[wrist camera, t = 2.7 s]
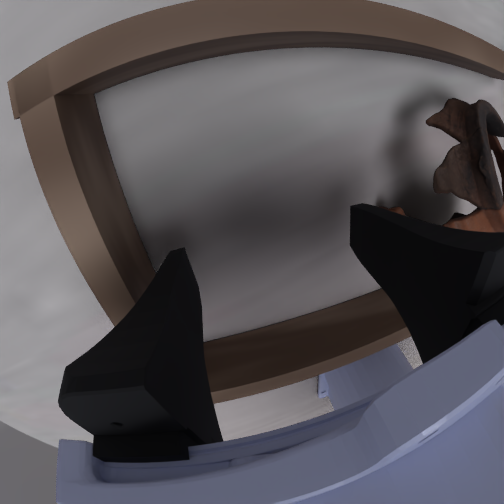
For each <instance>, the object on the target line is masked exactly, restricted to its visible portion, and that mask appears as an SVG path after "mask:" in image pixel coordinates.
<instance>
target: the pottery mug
mask: <svg viewBox="0 0 504 504" xmlns="http://www.w3.org/2000/svg"><path fill="white" fill-rule="evenodd" d="M426 124H427V125H428V126H432V127H436V128H438V129H441V130H443V131H444V132H445V133H447V134H448V135H450V136H451V137H453V138H455V139H456V140H457V141H459V142H460V144H458V145H456V146H453V147H452V148H451V149H450V150H449V151H448V153H447V155H446V157H445V159H444V161H443V162H442V164H441V165H440V166H439V167H438V168H437V169H436V170H435V173H434V178H433V188H434V192H435V193H436V194H440V193H453V194H454V195H455V196H457V197H459V198H461V199H464V200H467V201H469V202H470V203H472V204H473V205H475V206H477V209H475V210H474V211H473V212H472V213H470V214H468V215H464V214H460V213H454V214H453V216H452V217H451V219H450V220H449V221H448V222H447V223H446V224H444V225H442V226H444V227H450V228H455V229H462V230H469V231H479V232H504V150H503V149H502V147H501V145H500V142H499V140H498V138H497V137H496V136H498V137H504V123H503V121H502V120H501V118H500V116H499V115H498V113H497V112H496V110H495V109H494V108H493V107H492V105H491V104H490V103H488V102H487V101H485V100H478V101H477V102H476V103H474V104H471V105H470V104H468V103H466V102H464V101H461V100H459V99H456V98H452V99H448V100H447V102H446V103H445V106H444V108H443V109H442V110H441V111H440V112H438V113H436V114H434V115H432V116H431V117H430V118H429V119H427V120H426ZM491 150H493V152H494V155H495V157H496V161H497V164H498V167H499V170H500V173H501V177H502V191H503V196H502V192H501V189H500V185H499V182H498V178H497V175H496V170H495V166H494V161H493V157H492V154H491ZM380 208H383V209H386V210H389V211H392V212H395V213H398V214H401V215H405V213H404V211H403V209H402V208H401V207H393V208H390V209H388V208H386V207H381V206H380ZM405 216H406V215H405Z"/></svg>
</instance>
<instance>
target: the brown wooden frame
mask: <svg viewBox="0 0 504 504" xmlns="http://www.w3.org/2000/svg"><path fill="white" fill-rule="evenodd" d="M302 47H336V48H356V49H368V50H378V51H386V52H394V53H400V54H406V55H412V56H417V57H422V58H427V59H432V60H436V61H440V62H444V63H448V64H452V65H455V66H459V67H462V68H466V69H469V70H472V71H475V72H478V73H481V74H484V75H487V76H489V77H492V78H496V79H501V80H504V51H502V50H500V49H499V48H497V47H495V46H493V45H492V44H490V43H488V42H486V41H484V40H482V39H480V38H478V37H476V36H474V35H472V34H470V33H468V32H466V31H463V30H461V29H459V28H456V27H454V26H452V25H449V24H447V23H444V22H442V21H439V20H436V19H434V18H431V17H428V16H425V15H422V14H419V13H416V12H412V11H409V10H406V9H402V8H398V7H394V6H391V5H386V4H382V3H377V2H373V1H368V0H195V1H190V2H185V3H180V4H176V5H172V6H168V7H164V8H160V9H156V10H153V11H149V12H146V13H143V14H139V15H136V16H133V17H130V18H127V19H125V20H122V21H119V22H116V23H114V24H111V25H109V26H106V27H104V28H101V29H99V30H97V31H94V32H92V33H90V34H88V35H85V36H83V37H81V38H79V39H77V40H75V41H73V42H71V43H69V44H67V45H65V46H63V47H61V48H60V49H58V50H56V51H54V52H52V53H51V54H49V55H47V56H46V57H44V58H42V59H41V60H39V61H37V62H36V63H34V64H33V65H31V66H29V67H28V68H26V69H25V70H23V71H22V72H21V73H19V74H18V75H16V76H15V77H13V78H12V79H11V80H9V81H8V82H7V83H8V89H9V95H10V100H11V105H12V110H13V115H14V119H19V118H20V120H21V124H22V128H23V132H24V135H25V139H26V143H27V146H28V149H29V153H30V156H31V159H32V162H33V165H34V168H35V171H36V174H37V177H38V179H39V182H40V185H41V188H42V190H43V193H44V195H45V198H46V200H47V203H48V205H49V207H50V210H51V212H52V214H53V217H54V219H55V221H56V223H57V226H58V228H59V230H60V232H61V234H62V236H63V238H64V240H65V242H66V244H67V246H68V248H69V250H70V252H71V254H72V256H73V258H74V260H75V262H76V264H77V266H78V267H79V269H80V271H81V273H82V275H83V276H84V278H85V280H86V282H87V283H88V285H89V287H90V288H91V290H92V292H93V293H94V295H95V297H96V298H97V300H98V302H99V303H100V305H101V306H102V308H103V309H104V311H105V313H106V314H107V316H108V317H109V319H110V320H111V322H112V323H113V325H114V326H116V325H117V324H118V323H119V322H120V321H121V320H122V319H123V318H124V317H125V316H126V315H127V313H128V312H129V311H130V310H131V309H132V307H133V306H134V305H135V304H136V303H137V301H138V300H139V299H140V297H141V296H142V294H143V293H144V291H145V290H146V289H147V287H148V286H149V284H150V283H151V281H152V280H153V278H154V277H155V275H156V273H155V271H154V269H153V267H152V264H151V262H150V260H149V258H148V255H147V253H146V251H145V248H144V246H143V243H142V241H141V239H140V236H139V234H138V231H137V229H136V226H135V224H134V221H133V218H132V216H131V213H130V211H129V208H128V205H127V202H126V200H125V197H124V194H123V191H122V189H121V186H120V183H119V180H118V177H117V174H116V171H115V168H114V165H113V162H112V158H111V155H110V152H109V149H108V145H107V142H106V139H105V135H104V132H103V128H102V124H101V121H100V117H99V113H98V109H97V105H96V101H95V97H94V94H95V93H97V92H100V91H102V90H105V89H107V88H109V87H112V86H115V85H117V84H120V83H122V82H125V81H128V80H131V79H134V78H137V77H139V76H142V75H146V74H149V73H152V72H155V71H159V70H162V69H165V68H169V67H173V66H177V65H181V64H185V63H189V62H193V61H197V60H202V59H207V58H212V57H217V56H223V55H229V54H235V53H242V52H250V51H259V50H269V49H281V48H302ZM410 336H411V334H410V332H409V330H408V328H407V326H406V324H405V323H404V321H403V319H402V317H401V315H400V314H399V312H398V310H397V309H396V307H395V305H394V304H393V302H392V301H391V299H390V298H389V296H388V295H387V294H386V293H385V291H384V290H383V289H380V290H377V291H374V292H372V293H369V294H366V295H363V296H361V297H358V298H355V299H352V300H349V301H347V302H344V303H341V304H338V305H335V306H332V307H329V308H326V309H323V310H320V311H317V312H314V313H310V314H307V315H304V316H301V317H298V318H294V319H291V320H288V321H284V322H281V323H277V324H274V325H270V326H267V327H263V328H260V329H256V330H252V331H249V332H245V333H241V334H237V335H233V336H229V337H225V338H221V339H217V340H213V341H209V342H204V343H203V345H204V358H205V365H206V370H207V376H208V381H209V386H210V391H211V395H212V400H213V404H215V403H219V402H224V401H229V400H233V399H238V398H242V397H246V396H250V395H254V394H258V393H262V392H266V391H269V390H273V389H277V388H280V387H283V386H287V385H290V384H293V383H297V382H300V381H303V380H306V379H309V378H312V377H315V376H318V375H321V374H323V373H326V372H329V371H332V370H334V369H337V368H340V367H342V366H345V365H348V364H350V363H353V362H355V361H358V360H360V359H362V358H365V357H367V356H369V355H372V354H374V353H376V352H379V351H381V350H383V349H385V348H387V347H390V346H392V345H394V344H396V343H398V342H400V341H402V340H404V339H406V338H408V337H410Z"/></svg>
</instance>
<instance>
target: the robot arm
mask: <svg viewBox="0 0 504 504" xmlns="http://www.w3.org/2000/svg"><path fill="white" fill-rule="evenodd" d="M350 246H351V248H352V250H353V251H354V253H355V255H356V256H357V258H358V259H359V261H360V262H361V264H362V265H363V266H364V267H365V268H366V270H367V271H368V272H369V273H370V274H371V276H372V277H373V278H374V279H375V280H376V282H377V283H378V284H379V285H380V286H381V288H382V289H383V290H384V291H385V293H386V294H387V295H388V296H389V298H390V299H391V301H392V302H393V304H394V305H395V307H396V309H397V310H398V312H399V314H400V315H401V317H402V319H403V321H404V323H405V324H406V326H407V328H408V330H409V332H410V334H411V336H412V338H413V341H414V343H415V345H416V347H417V350H418V352H419V354H420V357H421V360H422V362H423V364H422V365H421V366H419V367H417V368H415V369H413V368H412V366H411V365H410V363H409V362H408V360H407V359H406V357H405V356H404V354H403V353H402V351H401V350H400V348H399V347H398V345H397V344H394V345H392V346H390V347H387V348H385V349H383V350H381V351H379V352H376V353H374V354H372V355H369V356H367V357H365V358H362V359H360V360H358V361H355V362H353V363H350V364H348V365H345V366H342V367H340V368H337V369H334V370H332V371H329V372H326V373H323V374H321V375H319V380H318V397H319V398H324V397H326V396H328V397H329V399H330V401H331V403H332V406H333V408H334V410H335V411H332V412H330V413H327V414H324V415H321V416H318V417H316V418H313V419H310V420H307V421H303V422H300V423H297V424H294V425H291V426H287V427H284V428H280V429H276V430H273V431H269V432H265V433H261V434H257V435H253V436H248V437H244V438H239V439H234V440H229V441H223V439H222V435H221V431H220V428H219V424H218V420H217V416H216V412H215V408H214V404H213V400H212V395H211V391H210V386H209V381H208V376H207V370H206V365H205V358H204V345H203V323H202V305H201V298H200V292H199V286H198V284H197V281H196V278H195V276H194V273H193V270H192V267H191V265H190V262H189V259H188V256H187V254H186V251H185V248H180V249H177V250H173V251H170V252H169V254H168V255H167V257H166V259H165V260H164V262H163V264H162V265H161V267H160V269H159V270H158V272H157V273H156V275H155V277H154V278H153V280H152V281H151V283H150V284H149V286H148V287H147V289H146V290H145V291H144V293H143V294H142V296H141V297H140V299H139V300H138V301H137V303H136V304H135V305H134V306H133V307H132V309H131V310H130V311H129V312H128V313H127V315H126V316H125V317H124V318H123V319H122V320H121V321H120V322H119V323H118V324H117V325H116V326H115V327H114V328H113V329H112V330H111V331H110V332H109V333H108V334H107V335H106V336H105V337H104V338H103V339H102V340H101V341H99V342H98V343H97V344H96V345H95V346H94V347H92V348H91V349H90V350H89V351H87V352H86V353H85V354H83V355H82V356H81V357H79V358H78V359H76V360H75V361H74V362H72V363H71V364H69V365H68V366H66V368H65V371H64V375H63V380H62V384H61V389H60V393H59V398H58V403H59V407H60V408H61V410H62V411H63V412H64V414H65V415H66V416H67V417H69V418H70V419H71V420H72V421H74V422H75V423H77V424H78V425H79V426H81V427H82V428H84V429H85V430H87V431H88V432H90V433H91V434H93V435H94V440H93V443H90V442H87V441H80V440H66V439H60V440H59V448H58V459H57V477H56V478H57V479H56V502H57V503H58V504H504V232H479V231H469V230H462V229H455V228H450V227H444V226H440V225H436V224H432V223H428V222H424V221H421V220H417V219H414V218H411V217H408V216H405V215H401V214H398V213H395V212H392V211H389V210H386V209H383V208H380V207H376V206H373V205H369V204H363V203H361V204H357V205H352V206H350Z"/></svg>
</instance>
